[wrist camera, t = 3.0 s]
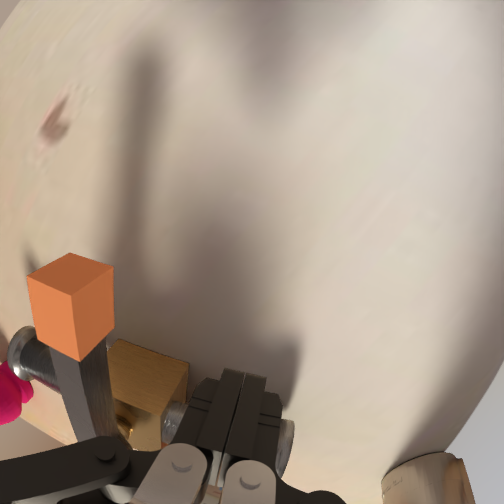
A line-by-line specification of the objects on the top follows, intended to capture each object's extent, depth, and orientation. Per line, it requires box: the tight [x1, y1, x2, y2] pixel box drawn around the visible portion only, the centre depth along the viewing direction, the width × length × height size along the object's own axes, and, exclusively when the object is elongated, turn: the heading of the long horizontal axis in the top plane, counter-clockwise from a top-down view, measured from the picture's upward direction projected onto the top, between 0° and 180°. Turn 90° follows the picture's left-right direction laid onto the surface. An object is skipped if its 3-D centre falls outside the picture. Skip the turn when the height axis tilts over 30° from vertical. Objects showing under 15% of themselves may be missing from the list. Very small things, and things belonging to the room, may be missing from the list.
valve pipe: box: [7, 326, 294, 478], centre depth 21 cm, size 24×6×7 cm, turn 79°
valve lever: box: [27, 253, 133, 450], centre depth 14 cm, size 16×4×3 cm, turn 169°
